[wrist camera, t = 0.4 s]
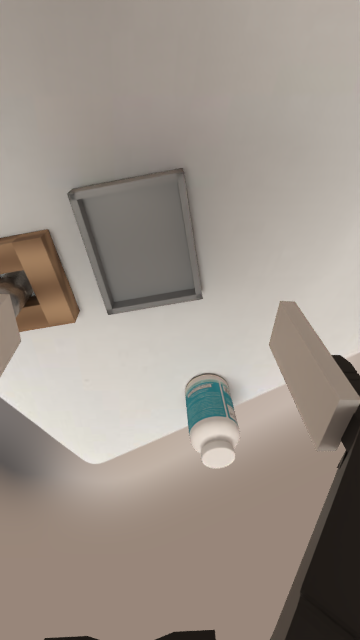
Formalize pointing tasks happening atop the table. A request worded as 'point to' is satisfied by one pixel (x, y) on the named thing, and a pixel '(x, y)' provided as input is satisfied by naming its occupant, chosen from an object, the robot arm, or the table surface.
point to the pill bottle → (212, 420)
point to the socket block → (39, 280)
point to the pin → (16, 289)
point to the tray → (139, 240)
